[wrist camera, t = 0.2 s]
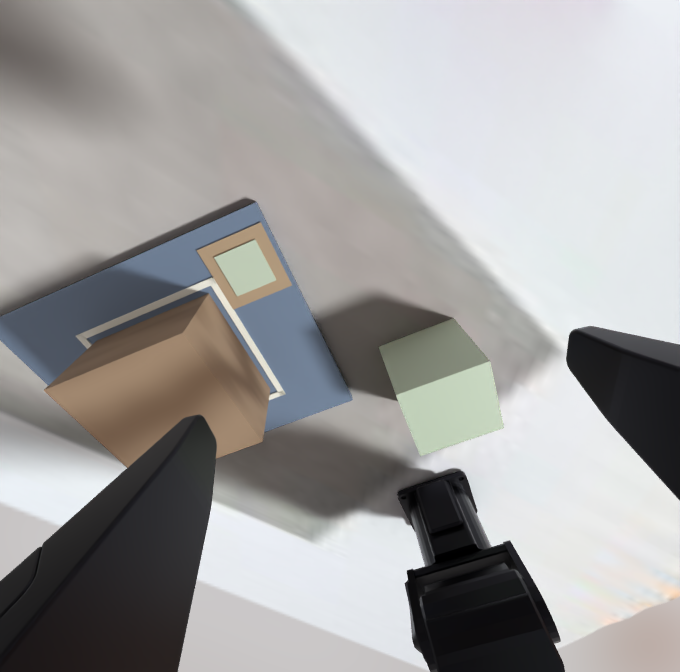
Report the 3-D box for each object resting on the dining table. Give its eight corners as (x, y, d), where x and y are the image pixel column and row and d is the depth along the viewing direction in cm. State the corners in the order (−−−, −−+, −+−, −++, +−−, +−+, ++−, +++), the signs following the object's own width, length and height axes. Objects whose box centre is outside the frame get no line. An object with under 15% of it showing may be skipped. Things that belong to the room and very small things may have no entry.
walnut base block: (270, 389, 25) (262, 441, 20) (172, 426, 25) (145, 484, 21) (208, 293, 21) (183, 332, 16) (96, 340, 22) (43, 390, 17)
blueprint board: (351, 395, 26) (353, 401, 26) (147, 470, 28) (143, 478, 28) (256, 201, 19) (254, 203, 18) (-10, 320, 21) (-19, 326, 20)
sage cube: (468, 376, 26) (504, 428, 22) (400, 401, 27) (420, 456, 22) (452, 317, 24) (490, 361, 19) (378, 346, 24) (395, 395, 20)
